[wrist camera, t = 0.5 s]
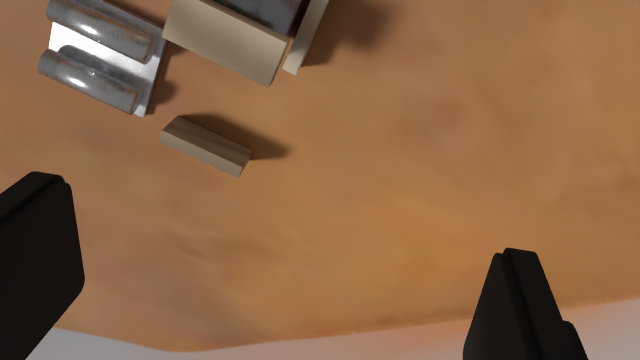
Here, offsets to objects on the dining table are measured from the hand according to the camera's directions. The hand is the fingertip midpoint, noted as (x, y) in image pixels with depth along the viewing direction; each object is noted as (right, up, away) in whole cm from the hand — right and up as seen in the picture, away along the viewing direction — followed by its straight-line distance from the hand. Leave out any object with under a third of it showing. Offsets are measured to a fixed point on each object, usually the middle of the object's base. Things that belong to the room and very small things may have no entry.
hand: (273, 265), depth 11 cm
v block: (-15, +11, +27) cm, 33 cm away
